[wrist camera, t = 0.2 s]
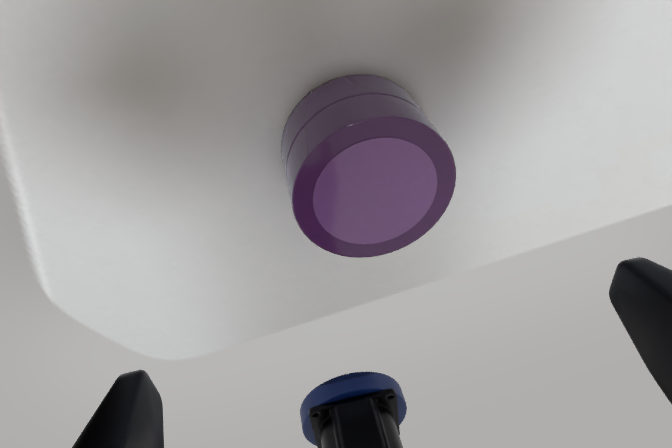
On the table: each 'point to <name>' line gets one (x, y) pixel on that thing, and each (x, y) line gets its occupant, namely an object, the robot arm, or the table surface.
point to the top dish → (369, 176)
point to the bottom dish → (329, 96)
